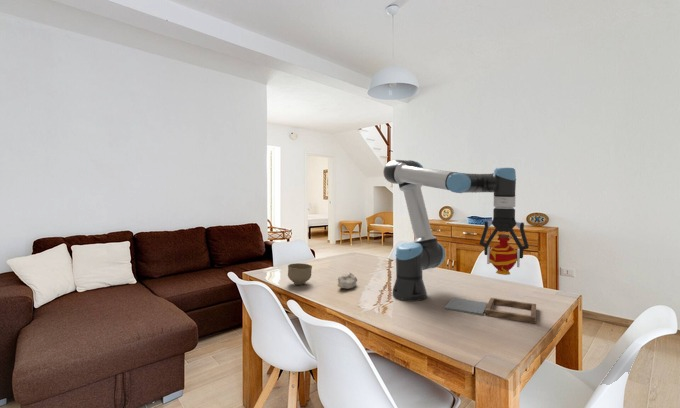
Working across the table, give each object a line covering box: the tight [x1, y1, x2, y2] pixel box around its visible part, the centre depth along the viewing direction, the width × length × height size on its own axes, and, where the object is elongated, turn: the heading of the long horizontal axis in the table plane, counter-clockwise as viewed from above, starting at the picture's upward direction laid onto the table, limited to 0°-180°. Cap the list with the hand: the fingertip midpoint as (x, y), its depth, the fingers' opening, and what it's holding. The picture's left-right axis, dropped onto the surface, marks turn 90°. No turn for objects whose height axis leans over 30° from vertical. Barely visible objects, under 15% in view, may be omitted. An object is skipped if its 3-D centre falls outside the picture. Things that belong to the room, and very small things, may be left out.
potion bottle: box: [489, 233, 517, 276], centre depth 127 cm, size 10×10×15 cm
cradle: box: [484, 297, 537, 324], centre depth 126 cm, size 16×16×2 cm
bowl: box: [287, 263, 313, 286], centre depth 170 cm, size 13×13×10 cm
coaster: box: [444, 297, 488, 316], centre depth 133 cm, size 14×14×1 cm
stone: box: [337, 272, 358, 290], centre depth 163 cm, size 8×12×10 cm, turn 153°
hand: (503, 264), depth 127 cm, fingers closed on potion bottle, 10 cm apart
